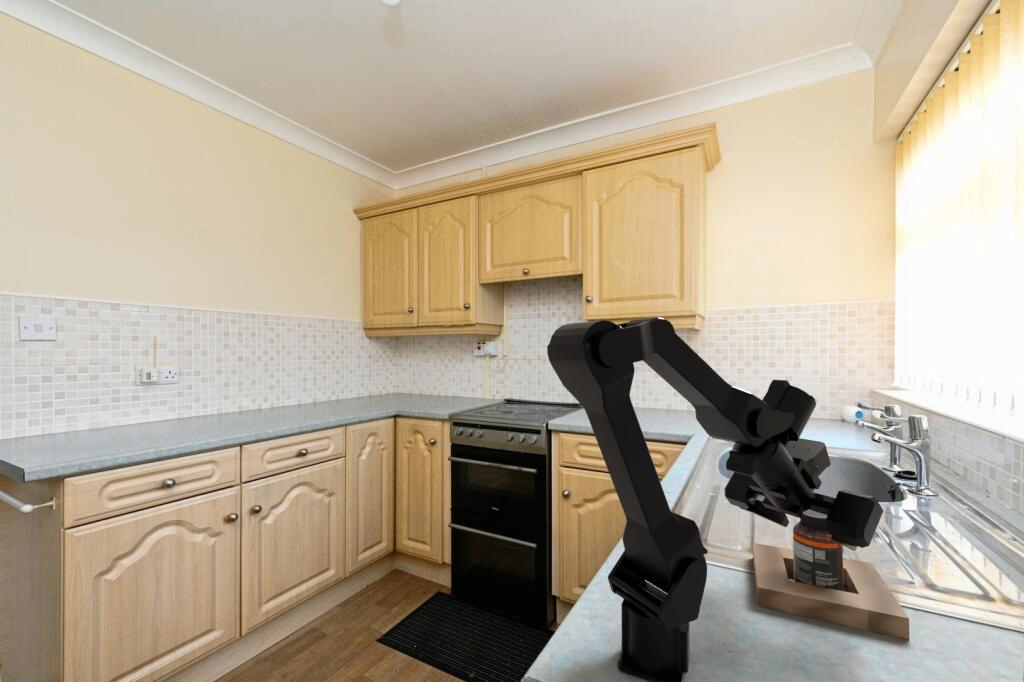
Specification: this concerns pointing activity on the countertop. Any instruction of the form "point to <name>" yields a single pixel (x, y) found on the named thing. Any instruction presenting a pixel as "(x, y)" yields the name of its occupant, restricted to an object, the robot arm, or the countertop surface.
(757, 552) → the square wooden frame
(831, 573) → the supplement bottle
